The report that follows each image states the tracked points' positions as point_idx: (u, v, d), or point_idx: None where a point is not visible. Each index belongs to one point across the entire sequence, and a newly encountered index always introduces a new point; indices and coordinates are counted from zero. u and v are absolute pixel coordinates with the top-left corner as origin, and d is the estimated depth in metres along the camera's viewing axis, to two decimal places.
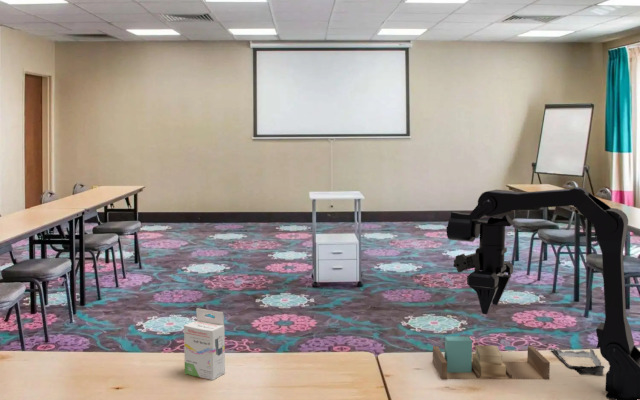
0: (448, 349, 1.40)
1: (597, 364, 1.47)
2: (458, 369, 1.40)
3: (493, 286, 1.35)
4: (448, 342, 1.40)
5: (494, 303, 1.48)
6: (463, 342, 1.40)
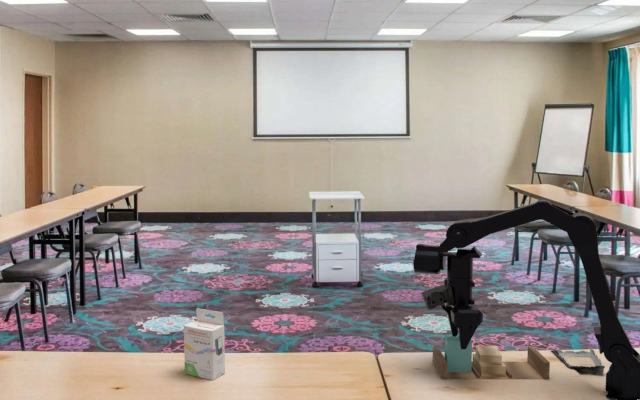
0: (448, 349, 1.40)
1: (597, 364, 1.47)
2: (458, 369, 1.40)
3: (482, 321, 1.32)
4: (448, 342, 1.40)
5: (454, 335, 1.46)
6: None
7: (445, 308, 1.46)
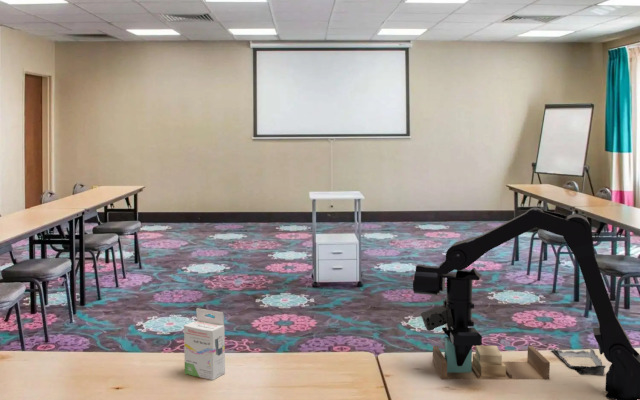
0: (448, 349, 1.40)
1: (598, 364, 1.47)
2: (458, 369, 1.40)
3: (481, 343, 1.32)
4: (448, 342, 1.40)
5: None
6: None
7: (447, 332, 1.43)
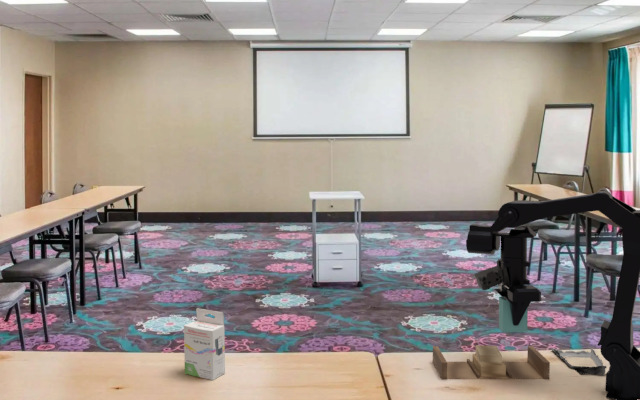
0: (504, 308, 1.39)
1: (598, 364, 1.47)
2: (514, 329, 1.39)
3: (540, 299, 1.31)
4: (504, 301, 1.39)
5: None
6: None
7: (501, 293, 1.42)
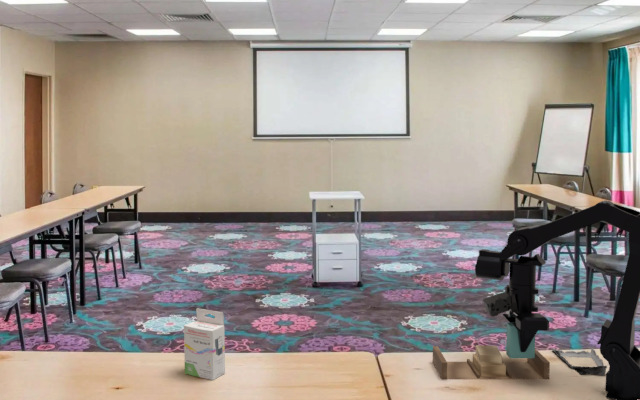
0: (511, 335, 1.40)
1: (599, 364, 1.47)
2: (521, 355, 1.40)
3: (548, 328, 1.32)
4: (511, 328, 1.39)
5: None
6: None
7: (509, 318, 1.43)
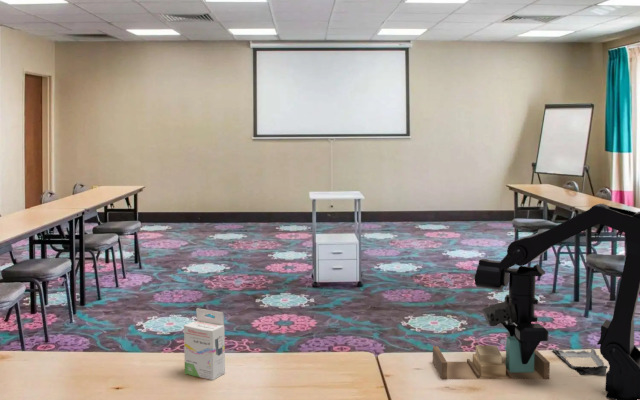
0: (511, 349, 1.40)
1: (599, 364, 1.47)
2: (520, 369, 1.40)
3: (547, 339, 1.32)
4: (511, 342, 1.40)
5: None
6: None
7: (506, 326, 1.45)
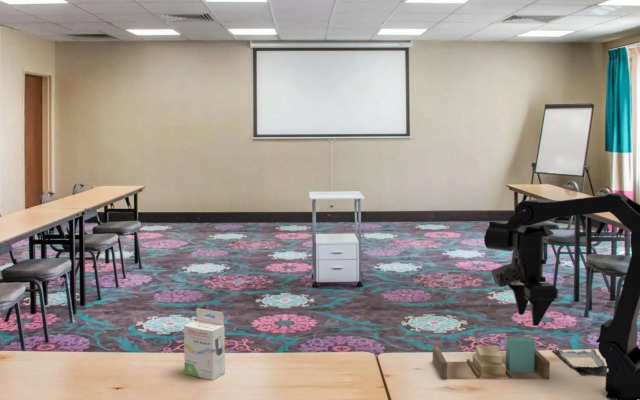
0: (511, 349, 1.40)
1: (600, 364, 1.47)
2: (520, 369, 1.40)
3: (557, 296, 1.34)
4: (511, 342, 1.40)
5: (521, 313, 1.47)
6: (526, 341, 1.40)
7: (512, 286, 1.48)
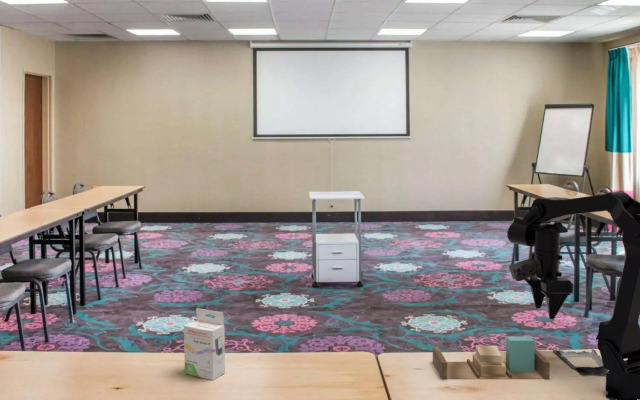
0: (511, 349, 1.40)
1: (600, 364, 1.47)
2: (520, 369, 1.40)
3: (572, 291, 1.39)
4: (511, 342, 1.40)
5: (537, 307, 1.53)
6: (526, 341, 1.40)
7: (529, 281, 1.53)
